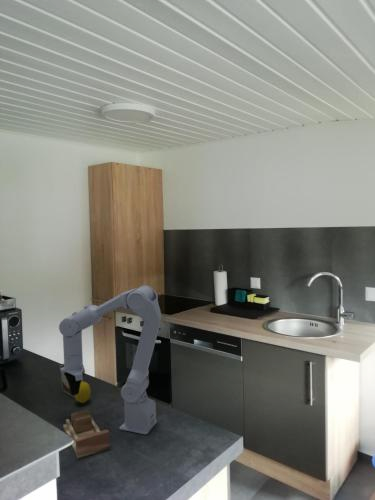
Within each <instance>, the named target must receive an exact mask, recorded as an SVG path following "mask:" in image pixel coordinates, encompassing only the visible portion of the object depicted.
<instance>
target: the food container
mask: <svg viewBox="0 0 375 500" xmlns="http://www.w3.org/2000/svg"><path fill="white" fill-rule="evenodd" d="M63 367H64V363H61V364H60V365H59V369H60V368H63ZM64 373H65V372H61V371H60V377H61V387H62V388H61V389H62V392H64V393H66V394H67V395H69V396H71V397H73V398H75V395H73V396H72V395H71V392H70V389H69V384H68V381H67V379H66V377H65V375H64ZM83 373H84V374H85V373H86V370H85V367H84V368H83ZM82 381H83V382H84V379H83V380H82ZM75 399H76V398H75Z"/></svg>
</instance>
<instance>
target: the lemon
mask: <svg viewBox="0 0 375 500" xmlns="http://www.w3.org/2000/svg"><path fill="white" fill-rule="evenodd" d="M91 391H92V390H91V387H90V384H89V383H87V382H86V381H84V380H83V381H81V384H80V389H79V393H78V394H77V395H75V400H76V401H77V402H79V403H81V404H84V403H86V402H87V401H88V400H89V399H90V397H91V393H92V392H91Z"/></svg>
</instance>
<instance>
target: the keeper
mask: <svg viewBox="0 0 375 500" xmlns="http://www.w3.org/2000/svg"><path fill="white" fill-rule="evenodd" d="M70 418H71V420H70V423H71V425H72V427H73V429H74V431H75V433H80V432H83V431H87V430H90V429H92V418H93V417H92V414H91V413H90V411H89V410H88V409H84V410H80V411H75V412H72V413H71V414H70Z"/></svg>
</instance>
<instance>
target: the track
mask: <svg viewBox="0 0 375 500" xmlns="http://www.w3.org/2000/svg"><path fill="white" fill-rule="evenodd" d="M62 427H63V430H64V432H65V434H66V433H67V434H68V435H69V436H71V437H72V438H73V439H74V443H73V444H72V445H71V447H72V449H73V451H74V454H75V456H76V459H78V460H79V459H82V458H85V457H88V456H92V455H94V454H97V453H101V452H104V451H106V450H107V451H108V450H110V448H111V447H110V431H109V430H108V428H107V429H103V430H101V429H100V428H99V426H98V425H97V423H96V422H95V420H94V419H93V417H92V429H90V430H87V431H83V432H80V433H75V431H74V429H73V427H72V425H71V420H70V419H69V418H67V419H65V424H63V425H62ZM67 434H66V435H67Z"/></svg>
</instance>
